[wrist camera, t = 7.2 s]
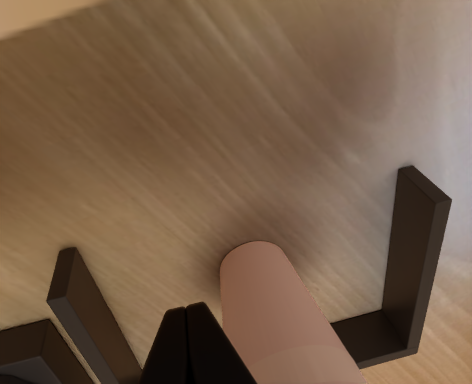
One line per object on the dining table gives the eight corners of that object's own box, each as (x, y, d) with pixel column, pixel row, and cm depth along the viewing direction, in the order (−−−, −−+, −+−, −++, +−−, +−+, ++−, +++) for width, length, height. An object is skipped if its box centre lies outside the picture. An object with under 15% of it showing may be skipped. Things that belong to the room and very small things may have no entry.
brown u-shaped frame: (58, 250, 18) (45, 301, 15) (413, 165, 19) (452, 199, 17) (135, 384, 25) (134, 433, 22) (392, 314, 26) (417, 353, 24)
